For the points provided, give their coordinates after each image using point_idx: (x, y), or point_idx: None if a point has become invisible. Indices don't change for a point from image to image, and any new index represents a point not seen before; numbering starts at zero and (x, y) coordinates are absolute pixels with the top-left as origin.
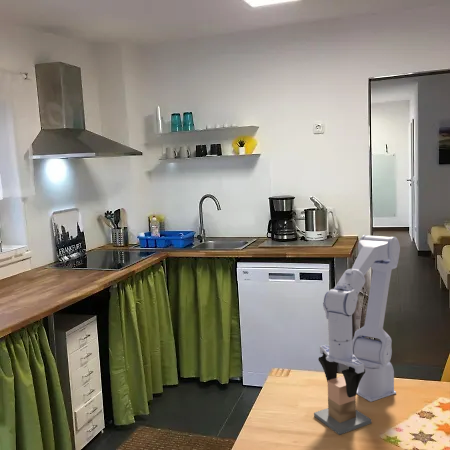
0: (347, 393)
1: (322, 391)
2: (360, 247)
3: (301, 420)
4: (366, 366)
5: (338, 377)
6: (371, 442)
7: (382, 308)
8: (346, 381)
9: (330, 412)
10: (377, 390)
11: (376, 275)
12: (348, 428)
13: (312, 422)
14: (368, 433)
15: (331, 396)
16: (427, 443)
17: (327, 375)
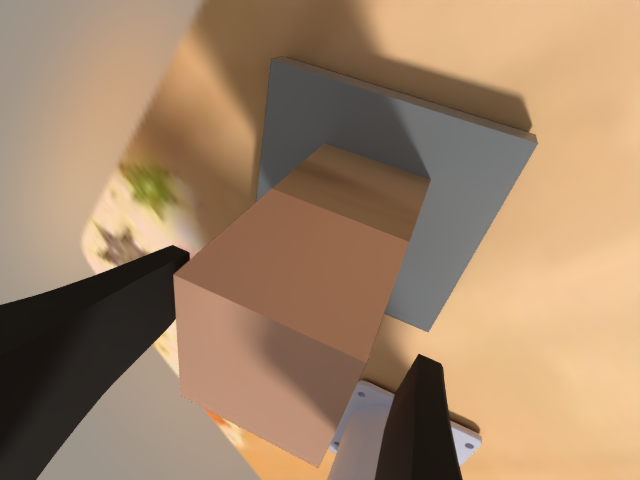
0: (160, 260)
1: (634, 405)
2: None
3: (613, 20)
4: None
5: (325, 438)
6: (168, 118)
7: None
8: (18, 327)
9: (405, 183)
10: (345, 436)
11: None
12: (266, 128)
13: (509, 63)
14: (221, 173)
15: (353, 239)
16: (96, 232)
17: (411, 445)
